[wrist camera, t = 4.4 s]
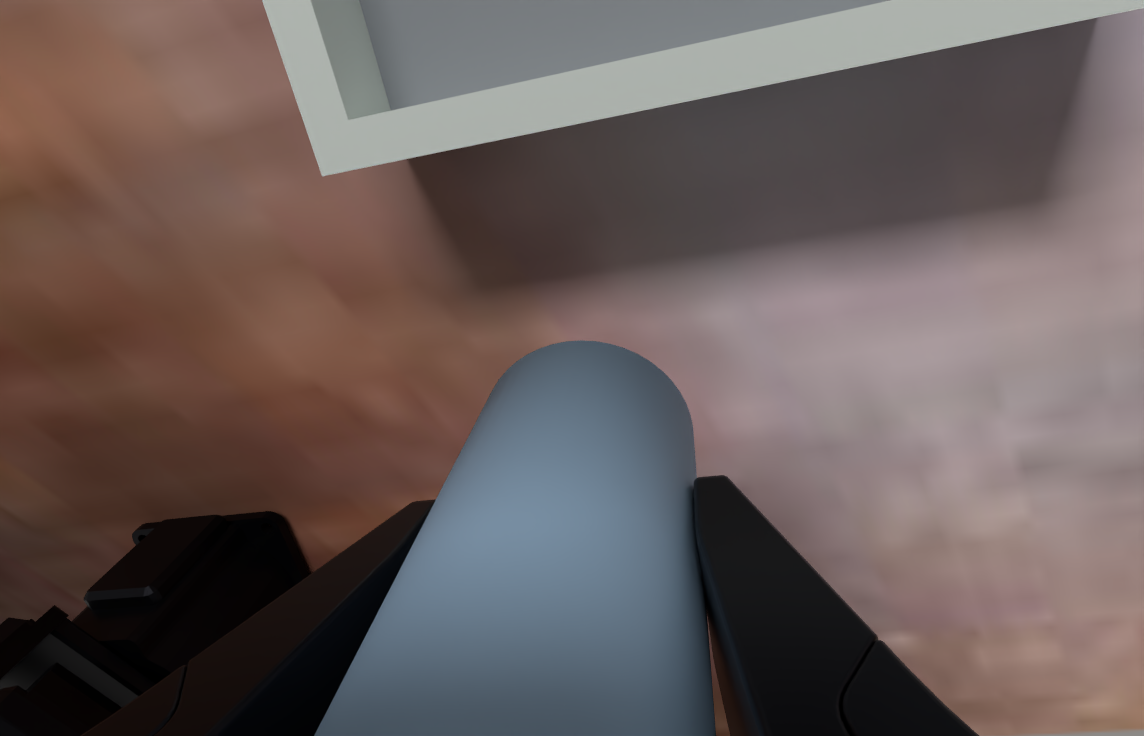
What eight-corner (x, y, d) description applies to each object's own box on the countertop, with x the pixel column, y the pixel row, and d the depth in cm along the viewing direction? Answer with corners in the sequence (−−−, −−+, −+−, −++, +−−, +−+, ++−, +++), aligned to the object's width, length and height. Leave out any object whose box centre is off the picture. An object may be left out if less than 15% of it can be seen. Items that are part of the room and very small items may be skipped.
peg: (704, 514, 11) (810, 1752, 3) (510, 529, 12) (164, 1578, 4) (679, 327, 10) (750, 1666, 2) (460, 355, 10) (-257, 1409, 2)
